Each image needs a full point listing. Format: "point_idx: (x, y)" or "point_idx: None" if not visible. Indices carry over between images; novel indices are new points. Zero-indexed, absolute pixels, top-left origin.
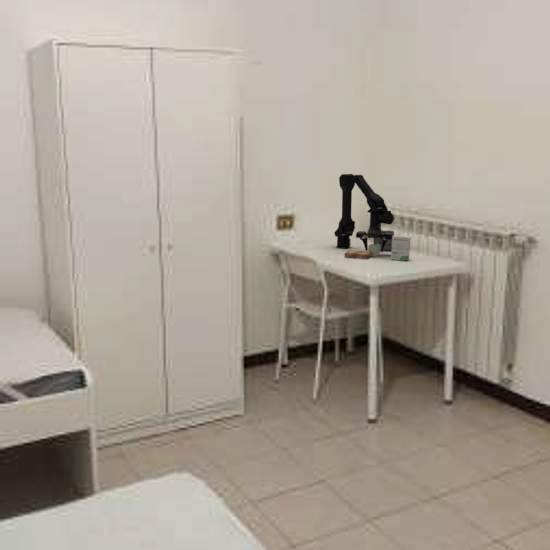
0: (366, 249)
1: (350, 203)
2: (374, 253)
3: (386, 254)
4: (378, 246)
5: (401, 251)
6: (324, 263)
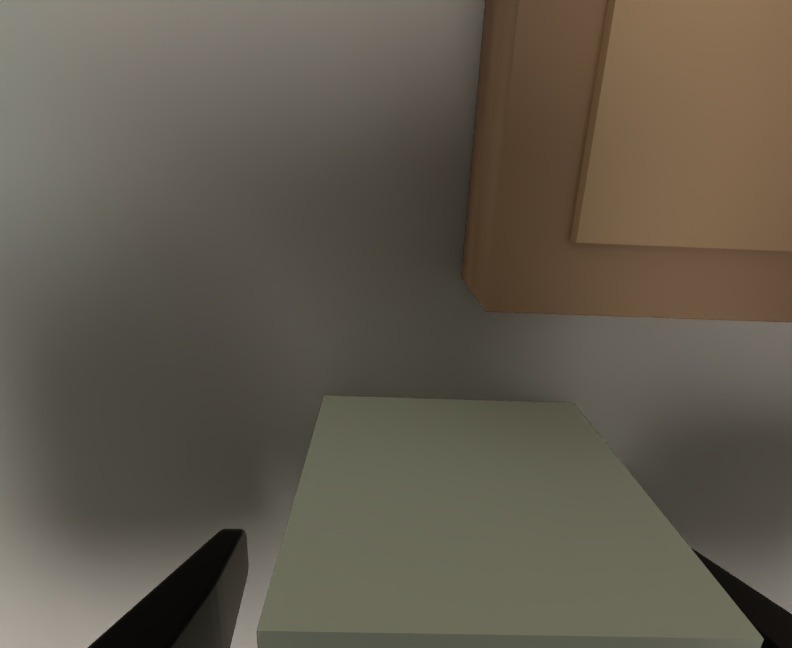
0: None
1: None
2: (420, 423)
3: None
4: (262, 633)
5: None
6: None
